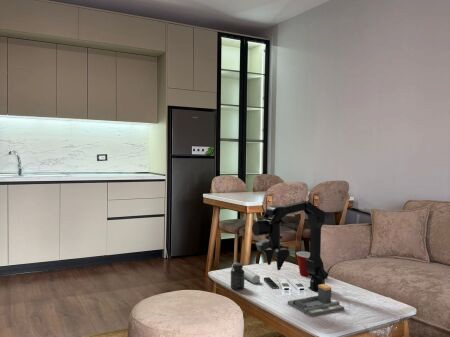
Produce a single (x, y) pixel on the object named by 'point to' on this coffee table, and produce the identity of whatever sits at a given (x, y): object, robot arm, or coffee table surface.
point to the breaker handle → (324, 293)
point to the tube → (250, 275)
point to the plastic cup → (303, 262)
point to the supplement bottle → (237, 277)
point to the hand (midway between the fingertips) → (273, 267)
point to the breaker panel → (315, 306)
